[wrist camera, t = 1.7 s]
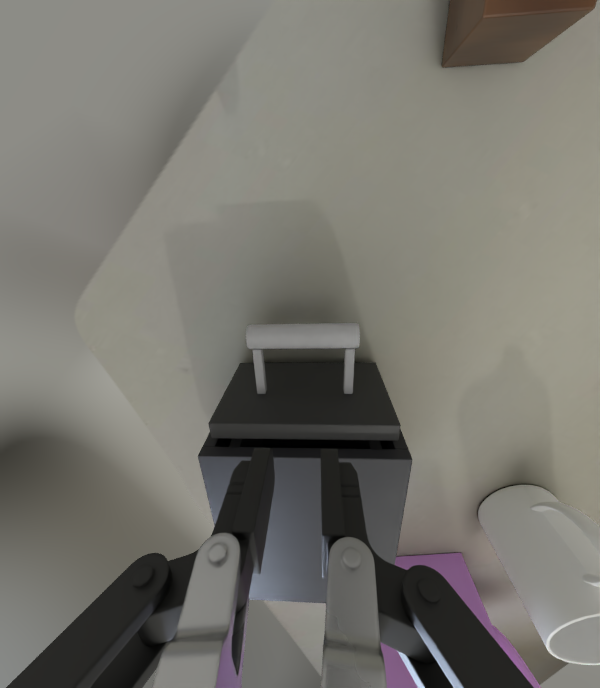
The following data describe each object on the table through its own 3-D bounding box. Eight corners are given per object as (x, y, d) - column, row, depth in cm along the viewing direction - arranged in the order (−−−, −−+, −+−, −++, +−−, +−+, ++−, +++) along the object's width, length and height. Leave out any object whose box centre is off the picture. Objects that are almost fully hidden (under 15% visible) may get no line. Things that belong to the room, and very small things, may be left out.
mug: (548, 530, 32) (648, 665, 22) (474, 534, 33) (538, 665, 23) (570, 447, 27) (708, 574, 17) (482, 455, 28) (567, 579, 18)
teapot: (513, 616, 39) (608, 809, 26) (333, 622, 43) (340, 797, 30) (525, 548, 33) (655, 755, 20) (314, 561, 37) (313, 747, 24)
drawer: (232, 306, 22) (192, 348, 15) (380, 303, 21) (412, 346, 14) (256, 484, 30) (237, 566, 23) (365, 486, 29) (380, 572, 22)
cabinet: (238, 374, 26) (197, 456, 17) (379, 374, 25) (412, 459, 16) (255, 494, 32) (231, 598, 23) (368, 497, 31) (388, 606, 23)
